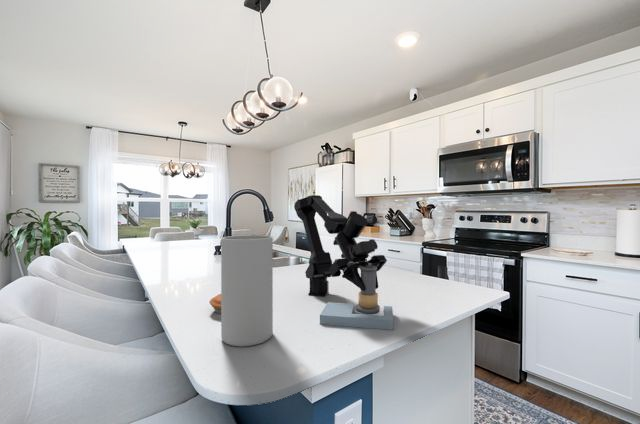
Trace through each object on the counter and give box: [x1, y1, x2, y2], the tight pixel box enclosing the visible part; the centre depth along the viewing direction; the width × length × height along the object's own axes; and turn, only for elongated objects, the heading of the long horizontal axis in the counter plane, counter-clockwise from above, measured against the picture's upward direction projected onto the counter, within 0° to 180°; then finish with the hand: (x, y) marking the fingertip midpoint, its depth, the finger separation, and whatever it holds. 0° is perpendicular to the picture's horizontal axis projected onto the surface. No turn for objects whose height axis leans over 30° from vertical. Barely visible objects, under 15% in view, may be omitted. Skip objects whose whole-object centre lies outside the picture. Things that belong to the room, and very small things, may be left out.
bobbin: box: [356, 265, 381, 315], centre depth 89 cm, size 7×7×13 cm
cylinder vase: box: [220, 234, 274, 347], centre depth 75 cm, size 12×12×25 cm
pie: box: [209, 293, 221, 316], centre depth 95 cm, size 16×16×5 cm
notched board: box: [319, 301, 394, 331], centre depth 87 cm, size 20×12×2 cm, turn 78°
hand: (371, 289), depth 87 cm, fingers closed on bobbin, 4 cm apart
